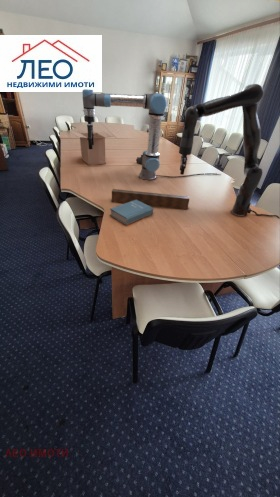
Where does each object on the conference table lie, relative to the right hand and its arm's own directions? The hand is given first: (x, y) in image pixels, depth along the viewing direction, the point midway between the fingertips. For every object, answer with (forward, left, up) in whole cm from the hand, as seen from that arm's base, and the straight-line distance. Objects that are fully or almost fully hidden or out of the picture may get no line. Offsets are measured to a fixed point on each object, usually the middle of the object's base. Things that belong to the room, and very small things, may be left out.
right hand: (181, 172), depth 143 cm
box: (+86, -93, -25) cm, 129 cm away
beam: (+19, 0, -25) cm, 31 cm away
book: (+29, +19, -25) cm, 43 cm away
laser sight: (+30, -100, -25) cm, 107 cm away
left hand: (+70, -34, +3) cm, 77 cm away
